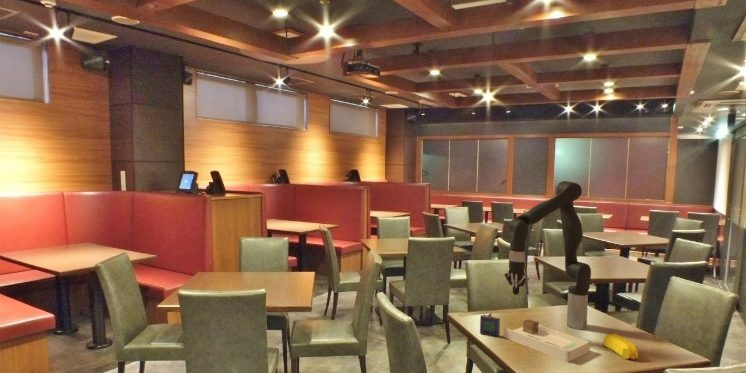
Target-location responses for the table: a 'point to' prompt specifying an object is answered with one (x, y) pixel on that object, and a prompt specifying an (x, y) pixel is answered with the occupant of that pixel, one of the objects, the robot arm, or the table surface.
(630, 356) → the yellow banana
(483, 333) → the flask
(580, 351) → the track
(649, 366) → the table surface
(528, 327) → the walnut block
